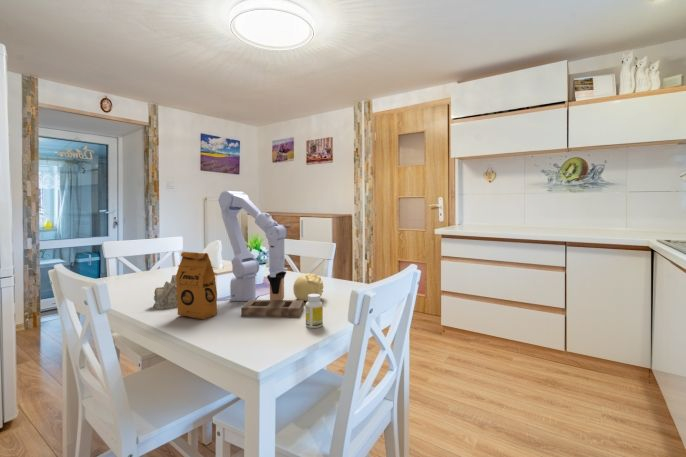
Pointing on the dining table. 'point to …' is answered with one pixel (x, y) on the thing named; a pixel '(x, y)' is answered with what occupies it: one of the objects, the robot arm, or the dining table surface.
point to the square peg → (280, 295)
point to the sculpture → (307, 286)
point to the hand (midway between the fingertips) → (277, 292)
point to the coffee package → (196, 286)
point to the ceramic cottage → (166, 295)
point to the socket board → (273, 308)
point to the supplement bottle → (314, 311)
